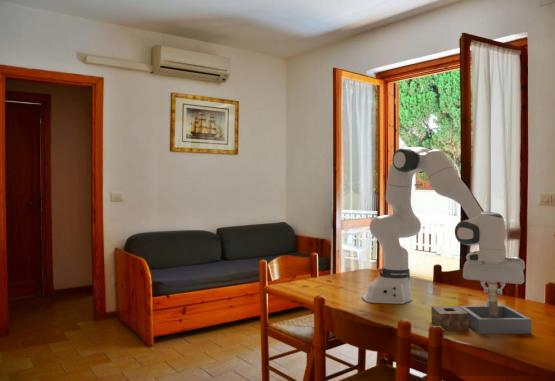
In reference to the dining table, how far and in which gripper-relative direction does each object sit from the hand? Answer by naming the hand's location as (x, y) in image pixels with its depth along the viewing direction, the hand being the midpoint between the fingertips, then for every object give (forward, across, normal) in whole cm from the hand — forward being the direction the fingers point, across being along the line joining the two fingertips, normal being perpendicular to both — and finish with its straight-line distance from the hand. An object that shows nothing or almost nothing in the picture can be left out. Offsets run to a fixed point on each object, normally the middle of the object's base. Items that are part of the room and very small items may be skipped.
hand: (492, 293), depth 162 cm
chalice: (+12, +4, -30) cm, 33 cm away
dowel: (+9, 0, 0) cm, 9 cm away
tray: (+12, 0, 0) cm, 12 cm away
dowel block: (+12, +14, +8) cm, 20 cm away
